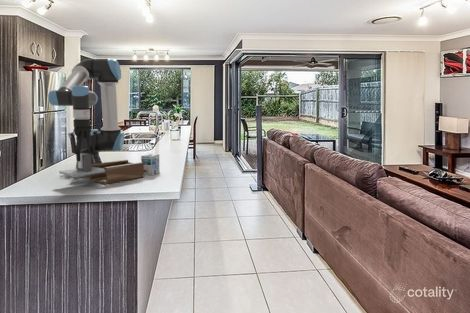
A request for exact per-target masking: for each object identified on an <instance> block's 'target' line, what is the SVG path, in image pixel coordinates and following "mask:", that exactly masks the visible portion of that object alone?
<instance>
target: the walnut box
mask: <svg viewBox="0 0 470 313" xmlns="http://www.w3.org/2000/svg"><path fill="white" fill-rule="evenodd" d="M91 167H98V168H103V169H105V170H106V172H103V173H96V174H90V177H89V181H90V180H91V181H92V182H95V183H98V184H99V183H100V184H104V185H107V184H108V185H113V184H119V183H125V182H130V181H135V180H136V181H137V180H141V179H145V175H144V163H142V162H130V161H129V160H128V159H121V160H120V159H119V160H115V161H114V160H112V161H106V162H105V161H104V162H102V163H96V164H91Z"/></svg>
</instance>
